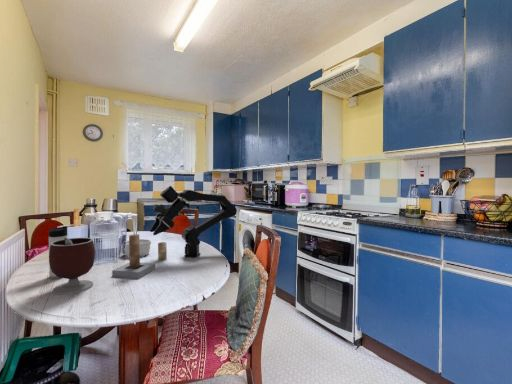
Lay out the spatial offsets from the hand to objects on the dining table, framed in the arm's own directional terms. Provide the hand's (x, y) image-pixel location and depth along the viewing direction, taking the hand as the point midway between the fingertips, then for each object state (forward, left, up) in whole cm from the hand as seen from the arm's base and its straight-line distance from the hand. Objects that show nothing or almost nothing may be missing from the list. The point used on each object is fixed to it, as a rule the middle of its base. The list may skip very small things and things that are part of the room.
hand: (152, 233), depth 134 cm
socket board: (-2, +17, -14) cm, 22 cm away
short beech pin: (-3, -4, -14) cm, 15 cm away
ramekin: (+14, -9, -14) cm, 22 cm away
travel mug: (+25, +27, -14) cm, 39 cm away
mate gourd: (+9, +37, -14) cm, 41 cm away
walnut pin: (-2, +17, -14) cm, 22 cm away
